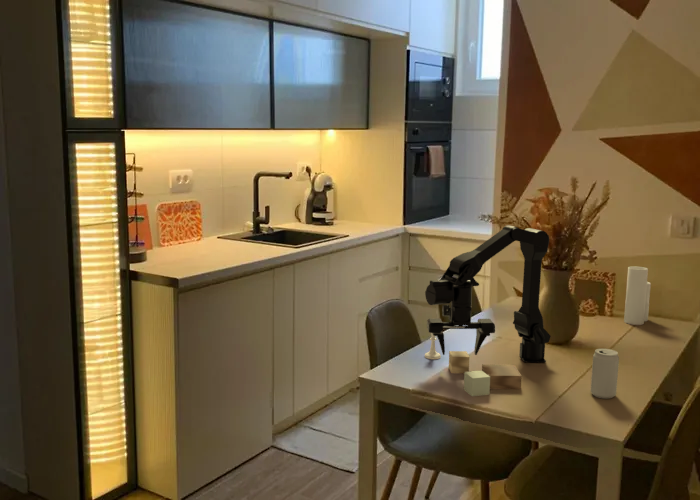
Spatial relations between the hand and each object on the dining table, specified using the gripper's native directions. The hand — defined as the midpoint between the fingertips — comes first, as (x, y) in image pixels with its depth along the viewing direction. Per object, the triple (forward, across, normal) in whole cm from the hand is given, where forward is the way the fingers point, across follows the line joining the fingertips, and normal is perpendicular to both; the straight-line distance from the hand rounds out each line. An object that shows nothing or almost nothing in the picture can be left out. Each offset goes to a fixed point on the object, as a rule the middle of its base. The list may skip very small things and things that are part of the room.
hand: (459, 354), depth 206 cm
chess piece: (+5, +6, -12) cm, 14 cm away
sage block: (+5, -2, +17) cm, 18 cm away
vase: (+5, -73, -54) cm, 91 cm away
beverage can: (+5, -35, +19) cm, 40 cm away
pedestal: (+5, -10, +10) cm, 15 cm away
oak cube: (+5, 0, 0) cm, 5 cm away
